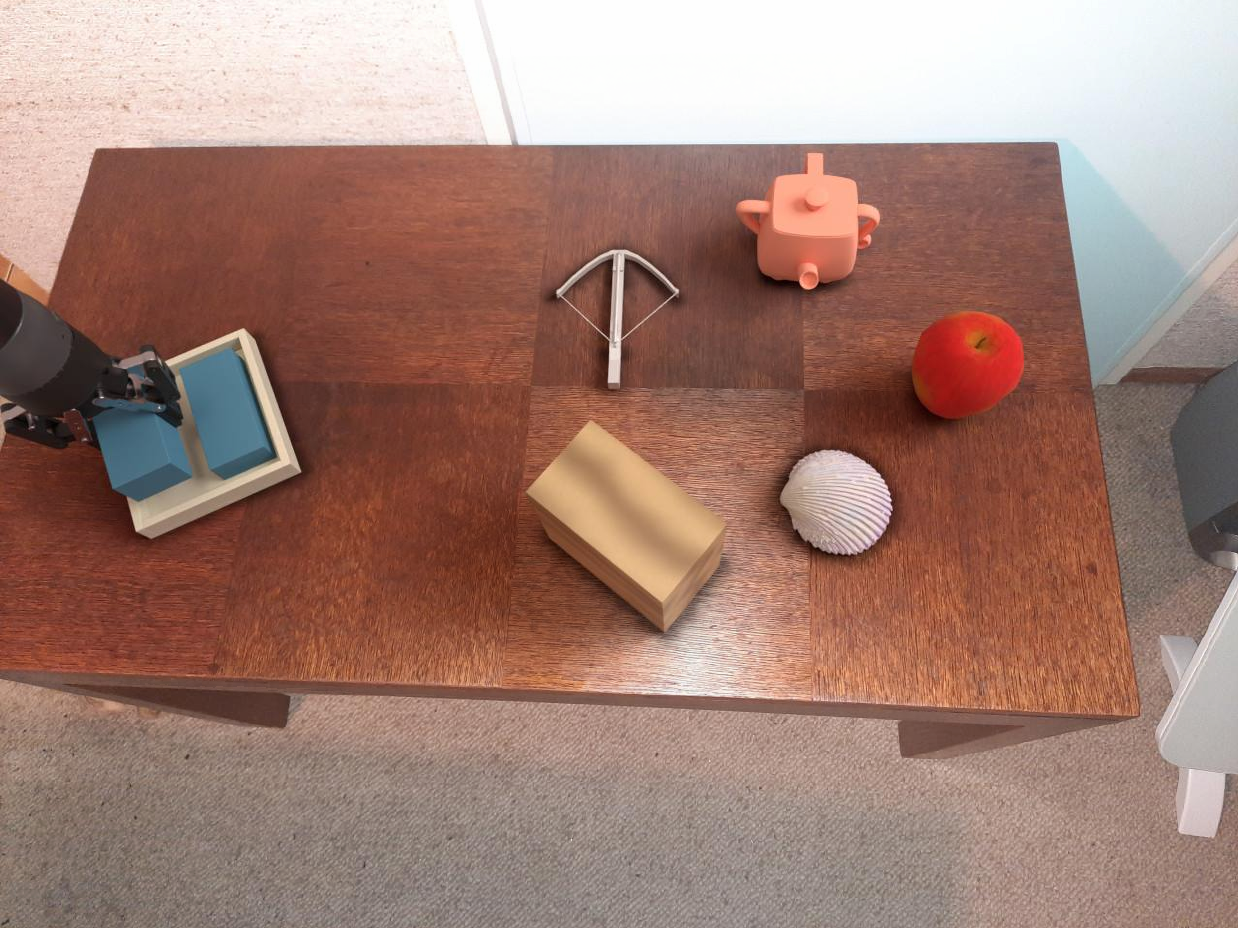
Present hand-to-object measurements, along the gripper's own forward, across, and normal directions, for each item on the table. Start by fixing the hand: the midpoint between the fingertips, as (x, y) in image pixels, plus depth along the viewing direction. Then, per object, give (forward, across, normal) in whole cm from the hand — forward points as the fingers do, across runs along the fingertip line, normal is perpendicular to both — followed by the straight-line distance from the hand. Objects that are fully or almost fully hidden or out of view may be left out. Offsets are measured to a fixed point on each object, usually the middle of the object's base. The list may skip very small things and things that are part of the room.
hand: (146, 431), depth 82 cm
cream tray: (+5, +3, 0) cm, 6 cm away
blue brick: (+4, +7, 0) cm, 8 cm away
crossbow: (+5, +46, -7) cm, 47 cm away
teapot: (+5, +66, -9) cm, 67 cm away
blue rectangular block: (0, 0, 0) cm, 1 cm away
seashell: (+5, +56, -34) cm, 66 cm away
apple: (+5, +71, -29) cm, 77 cm away
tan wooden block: (+5, +37, -30) cm, 48 cm away
